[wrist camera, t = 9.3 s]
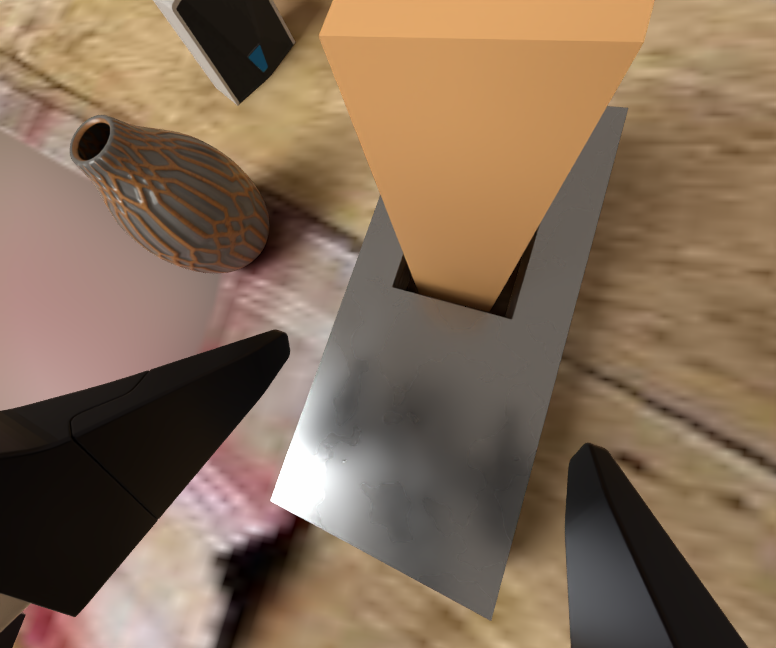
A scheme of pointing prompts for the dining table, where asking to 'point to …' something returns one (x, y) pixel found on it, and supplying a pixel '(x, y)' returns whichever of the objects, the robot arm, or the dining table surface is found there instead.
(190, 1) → the padlock
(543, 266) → the rail
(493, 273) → the peg
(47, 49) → the dining table surface
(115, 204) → the vase
